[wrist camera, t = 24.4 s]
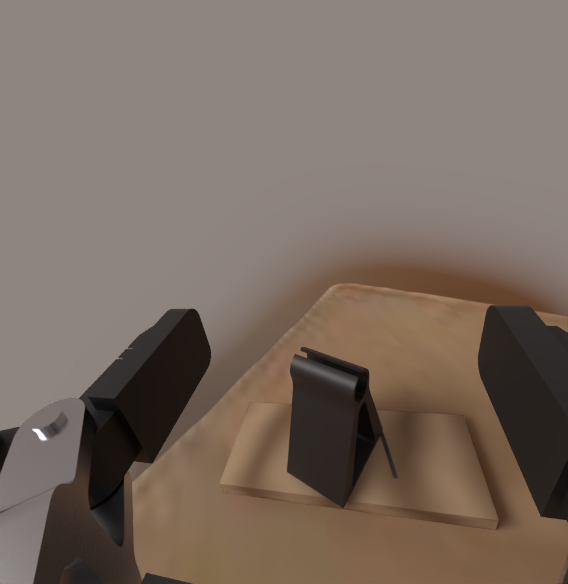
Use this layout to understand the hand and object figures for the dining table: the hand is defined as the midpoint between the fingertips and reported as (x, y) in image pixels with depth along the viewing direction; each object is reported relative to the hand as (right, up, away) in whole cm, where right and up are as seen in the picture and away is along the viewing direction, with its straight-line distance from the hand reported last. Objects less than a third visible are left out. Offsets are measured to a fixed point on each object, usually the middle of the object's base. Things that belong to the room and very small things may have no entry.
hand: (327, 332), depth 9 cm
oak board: (+5, -16, +24) cm, 29 cm away
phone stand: (+4, -15, +23) cm, 28 cm away
